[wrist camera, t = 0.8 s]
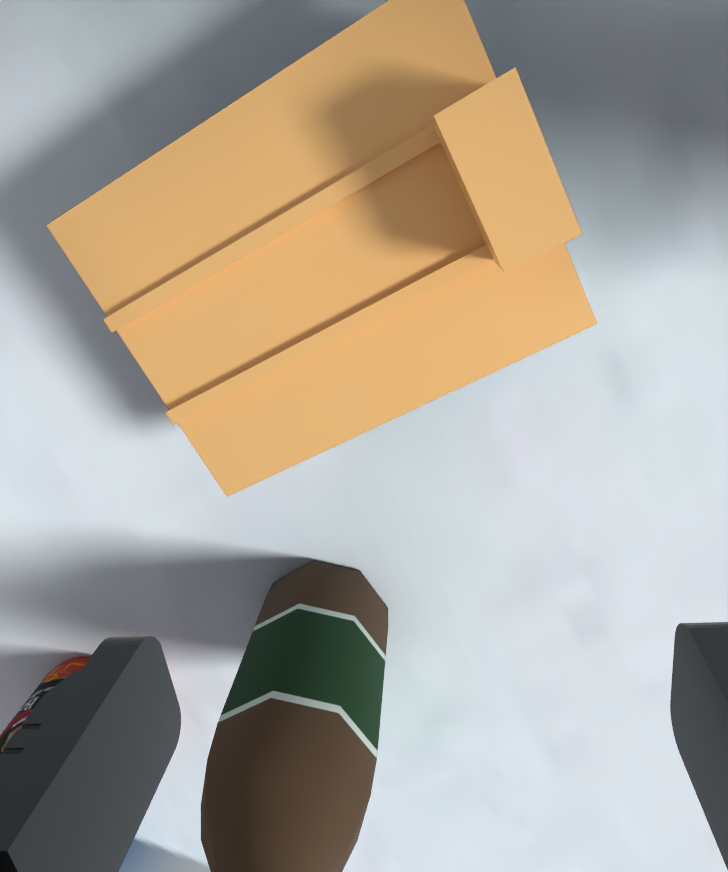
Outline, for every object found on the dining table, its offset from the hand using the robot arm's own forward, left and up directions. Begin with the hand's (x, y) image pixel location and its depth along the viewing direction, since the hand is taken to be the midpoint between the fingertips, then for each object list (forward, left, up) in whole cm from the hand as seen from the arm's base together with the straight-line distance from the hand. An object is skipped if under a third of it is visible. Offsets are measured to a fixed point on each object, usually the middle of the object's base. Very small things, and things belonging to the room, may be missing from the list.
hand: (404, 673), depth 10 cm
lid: (+2, -5, -19) cm, 20 cm away
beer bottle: (+13, +13, -24) cm, 30 cm away
